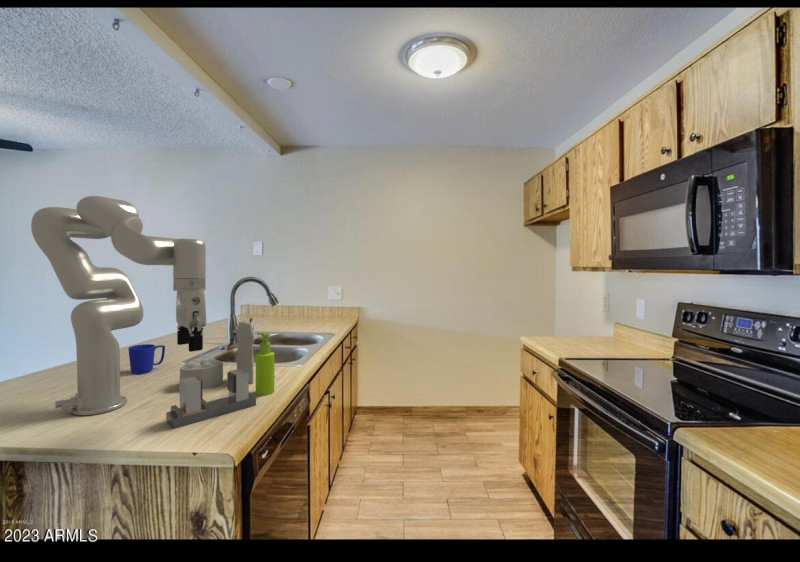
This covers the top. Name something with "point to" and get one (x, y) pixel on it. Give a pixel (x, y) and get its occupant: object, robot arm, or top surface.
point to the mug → (143, 358)
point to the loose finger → (190, 394)
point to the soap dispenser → (265, 367)
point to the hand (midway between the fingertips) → (189, 347)
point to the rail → (217, 402)
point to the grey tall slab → (245, 348)
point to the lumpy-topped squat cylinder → (204, 371)
